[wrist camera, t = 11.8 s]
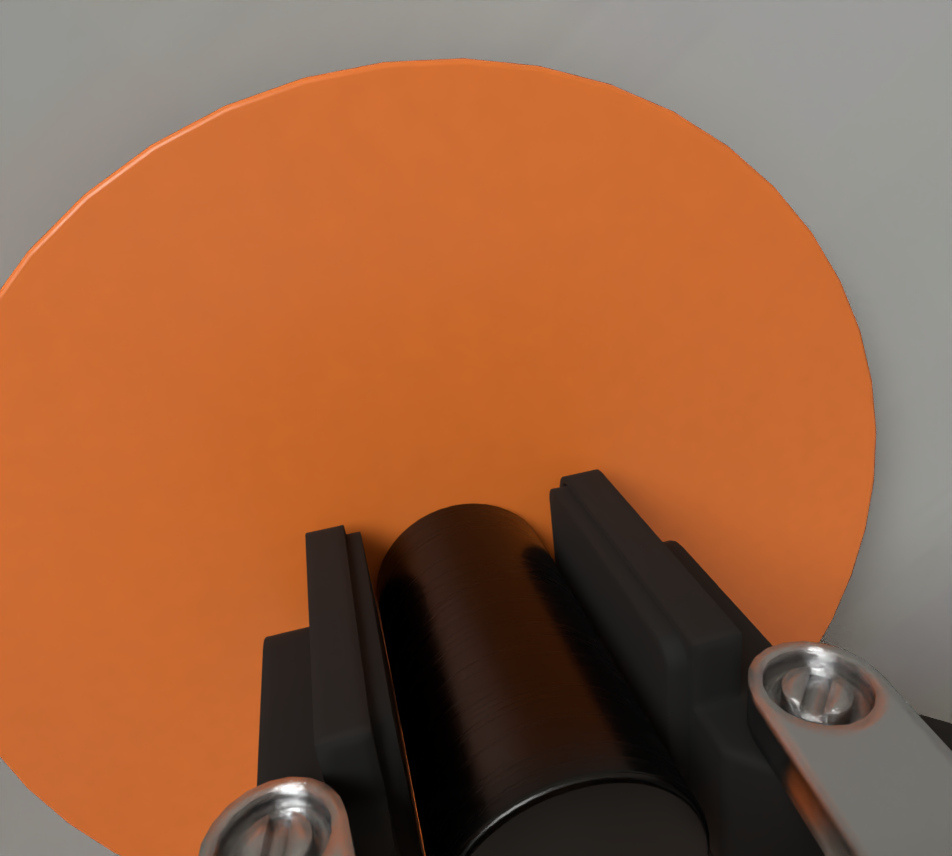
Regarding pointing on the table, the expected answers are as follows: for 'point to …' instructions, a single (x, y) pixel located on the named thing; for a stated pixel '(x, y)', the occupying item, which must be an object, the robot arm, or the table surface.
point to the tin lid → (408, 442)
